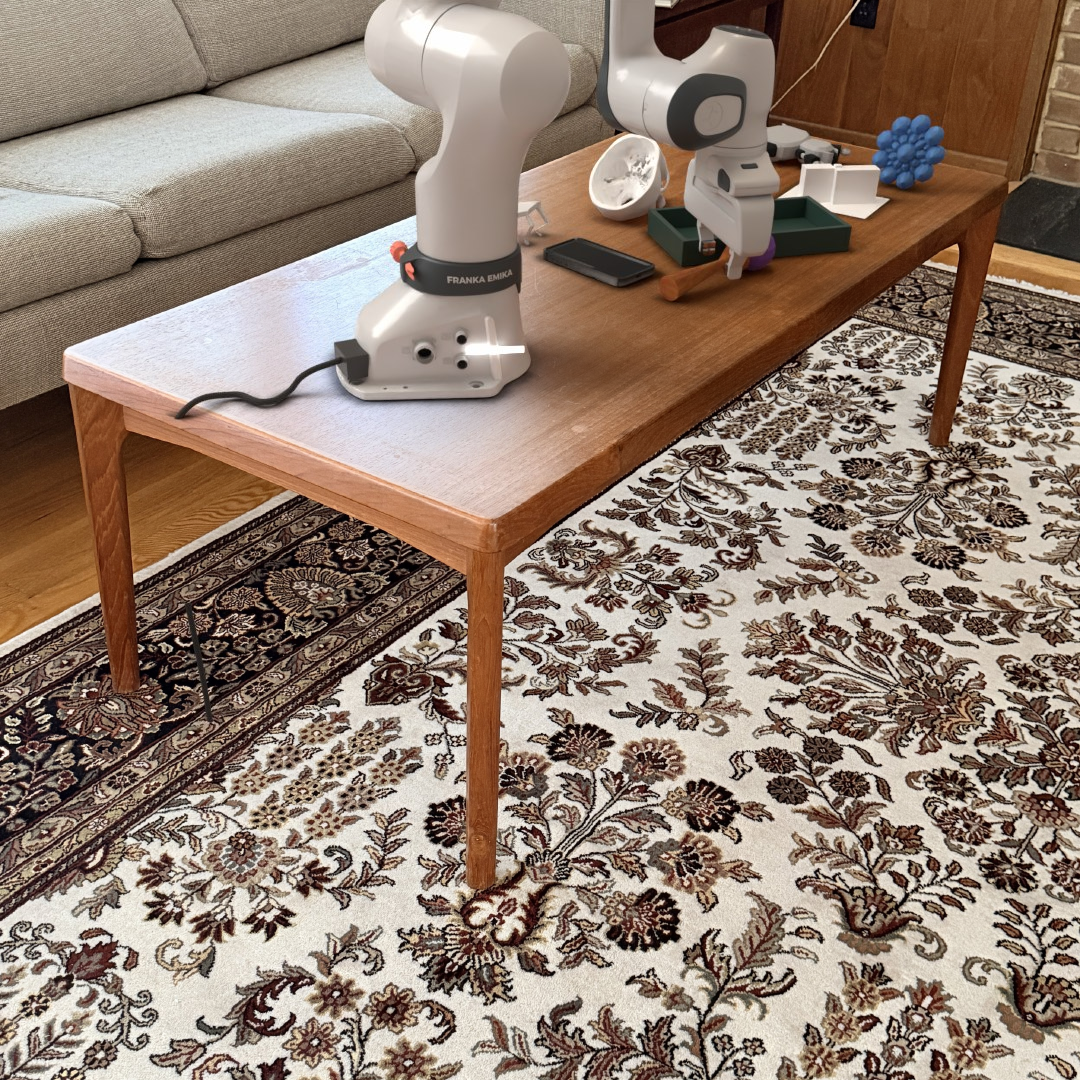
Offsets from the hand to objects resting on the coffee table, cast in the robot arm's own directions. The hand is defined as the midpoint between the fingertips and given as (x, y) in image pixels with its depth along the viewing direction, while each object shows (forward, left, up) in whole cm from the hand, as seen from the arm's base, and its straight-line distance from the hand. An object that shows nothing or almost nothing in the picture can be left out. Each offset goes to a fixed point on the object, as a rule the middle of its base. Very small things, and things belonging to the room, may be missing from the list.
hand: (719, 265), depth 164 cm
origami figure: (-24, +21, -2) cm, 32 cm away
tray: (+10, +13, -2) cm, 16 cm away
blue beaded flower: (+45, +30, -2) cm, 54 cm away
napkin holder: (+31, +27, -2) cm, 41 cm away
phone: (-14, +9, -2) cm, 17 cm away
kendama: (0, 0, -2) cm, 3 cm away
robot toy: (+34, +46, -2) cm, 57 cm away
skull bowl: (-2, +29, -2) cm, 29 cm away
